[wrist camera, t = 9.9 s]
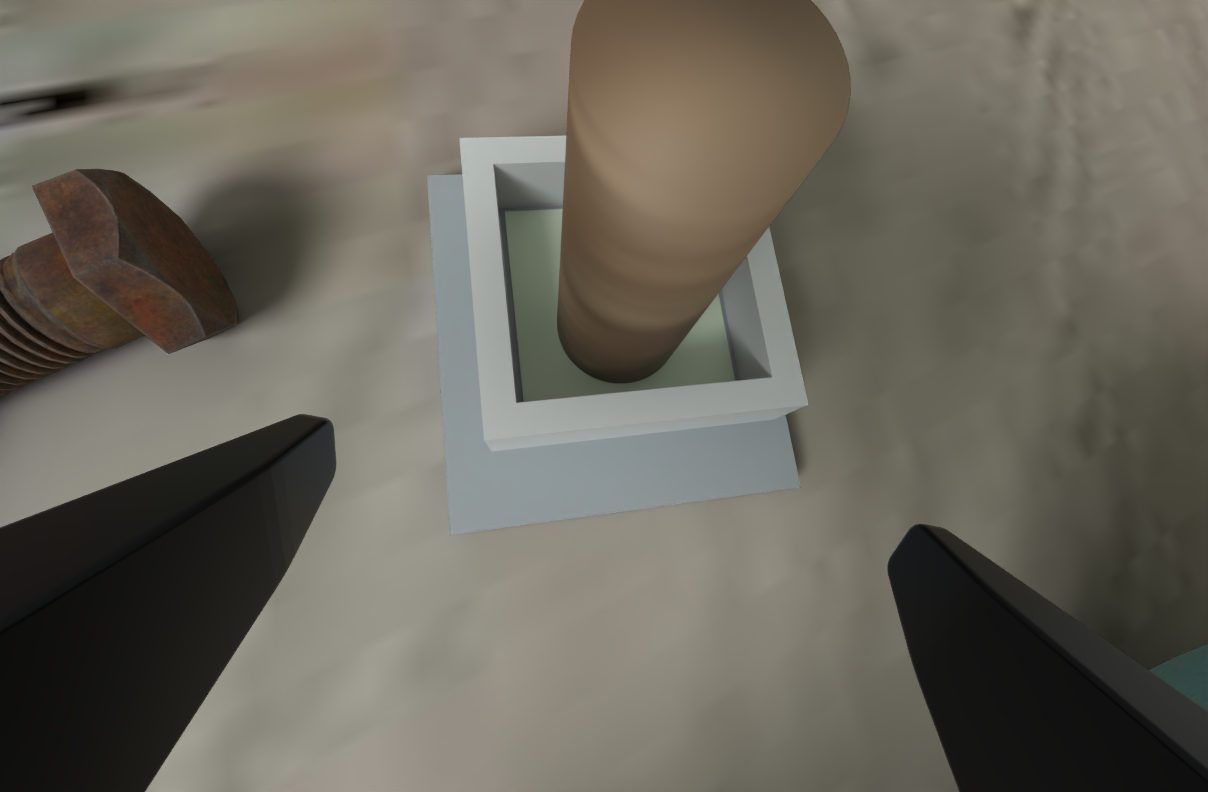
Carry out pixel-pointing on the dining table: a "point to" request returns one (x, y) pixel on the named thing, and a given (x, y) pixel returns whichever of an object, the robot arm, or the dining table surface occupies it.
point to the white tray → (573, 398)
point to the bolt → (104, 279)
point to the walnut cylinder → (681, 161)
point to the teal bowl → (1188, 674)
